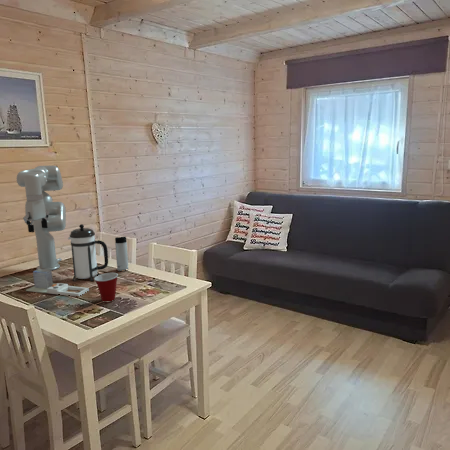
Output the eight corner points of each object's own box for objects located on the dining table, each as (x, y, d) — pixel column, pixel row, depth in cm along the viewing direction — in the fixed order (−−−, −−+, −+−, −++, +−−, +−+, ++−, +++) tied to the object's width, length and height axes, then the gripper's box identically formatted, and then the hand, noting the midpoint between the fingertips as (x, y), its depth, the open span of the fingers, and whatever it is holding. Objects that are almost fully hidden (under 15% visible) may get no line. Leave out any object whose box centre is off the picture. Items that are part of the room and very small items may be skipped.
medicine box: (53, 286, 205) (51, 269, 203) (47, 289, 201) (45, 272, 199) (40, 284, 207) (38, 268, 205) (34, 287, 203) (32, 271, 201)
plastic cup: (100, 295, 192) (98, 271, 190) (122, 295, 192) (121, 271, 189) (92, 304, 182) (90, 279, 179) (116, 304, 181) (114, 279, 179)
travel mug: (118, 272, 227) (116, 238, 223) (116, 269, 232) (113, 235, 228) (129, 270, 229) (127, 236, 225) (126, 267, 235) (124, 234, 231)
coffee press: (78, 285, 207) (73, 228, 201) (67, 278, 218) (62, 224, 212) (110, 277, 218) (106, 224, 212) (97, 271, 230) (93, 220, 224)
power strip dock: (58, 287, 204) (57, 281, 203) (88, 290, 199) (88, 285, 198) (47, 293, 196) (46, 287, 196) (78, 296, 191) (78, 290, 191)
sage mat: (43, 282, 211) (42, 281, 211) (62, 284, 208) (62, 283, 208) (25, 290, 200) (25, 289, 200) (45, 293, 197) (45, 292, 197)
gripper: (40, 195, 215) (43, 225, 219) (15, 200, 199) (19, 233, 203) (52, 195, 213) (55, 226, 217) (28, 200, 197) (32, 234, 201)
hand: (38, 230), depth 210 cm, fingers open, 9 cm apart
